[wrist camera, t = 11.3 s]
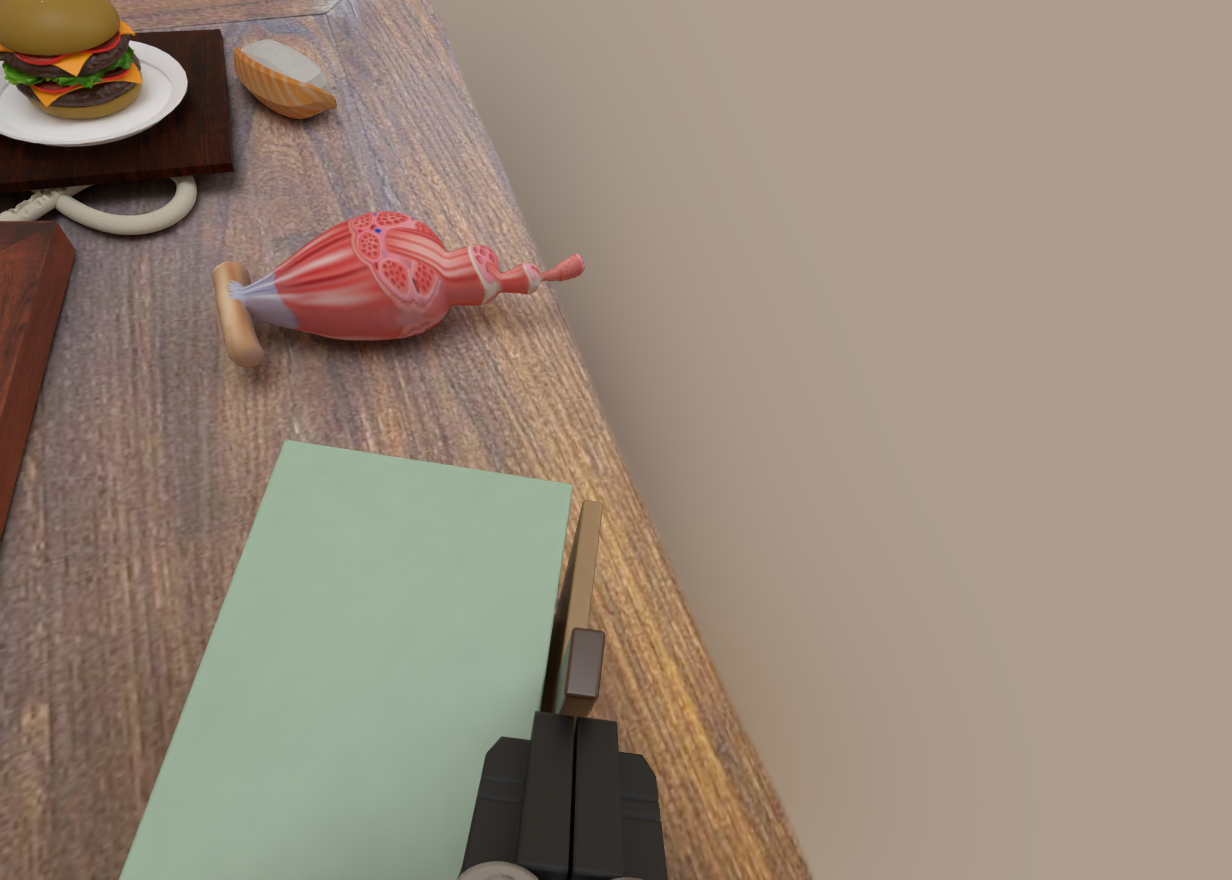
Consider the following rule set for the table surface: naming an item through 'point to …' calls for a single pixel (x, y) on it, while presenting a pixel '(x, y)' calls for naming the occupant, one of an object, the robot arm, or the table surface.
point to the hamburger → (106, 98)
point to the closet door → (576, 627)
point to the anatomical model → (367, 284)
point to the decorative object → (101, 220)
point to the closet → (359, 673)
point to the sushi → (283, 79)
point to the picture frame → (26, 330)
